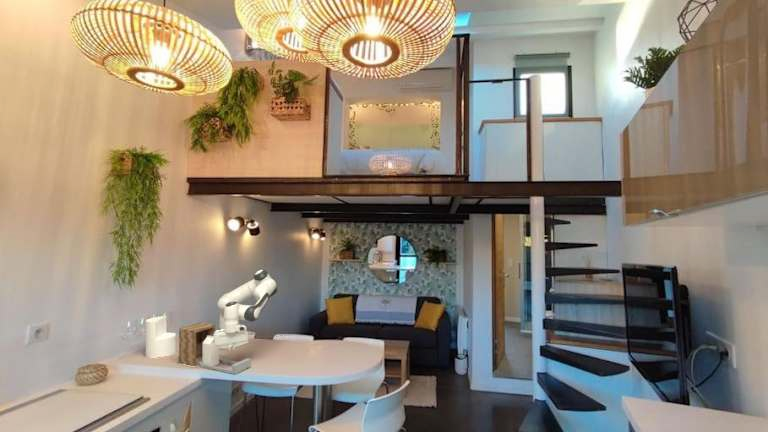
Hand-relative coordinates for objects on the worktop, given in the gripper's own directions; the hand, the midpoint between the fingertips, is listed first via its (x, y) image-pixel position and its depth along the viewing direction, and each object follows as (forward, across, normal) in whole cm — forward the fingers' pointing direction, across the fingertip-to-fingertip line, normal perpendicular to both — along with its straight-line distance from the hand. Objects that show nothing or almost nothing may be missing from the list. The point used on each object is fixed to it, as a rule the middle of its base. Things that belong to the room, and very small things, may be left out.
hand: (231, 350), depth 237 cm
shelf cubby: (+12, -17, +26) cm, 34 cm away
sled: (+12, -3, +6) cm, 13 cm away
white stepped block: (+13, -38, +59) cm, 72 cm away
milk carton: (+12, -10, +15) cm, 22 cm away
